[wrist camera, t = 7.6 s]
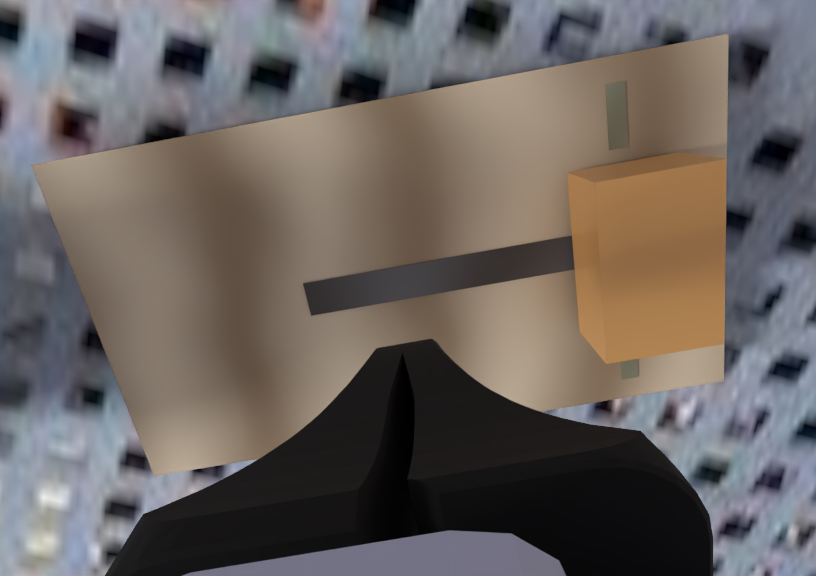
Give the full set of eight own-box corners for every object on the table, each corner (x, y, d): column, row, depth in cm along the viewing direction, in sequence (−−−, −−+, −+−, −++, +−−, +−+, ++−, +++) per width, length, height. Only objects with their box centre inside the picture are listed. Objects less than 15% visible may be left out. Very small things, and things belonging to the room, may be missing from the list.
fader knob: (579, 332, 19) (606, 364, 16) (566, 172, 17) (594, 182, 15) (682, 314, 19) (723, 344, 16) (679, 152, 17) (726, 158, 15)
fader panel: (174, 445, 23) (153, 476, 21) (67, 159, 19) (30, 165, 17) (695, 357, 22) (724, 381, 20) (693, 41, 18) (729, 33, 16)
